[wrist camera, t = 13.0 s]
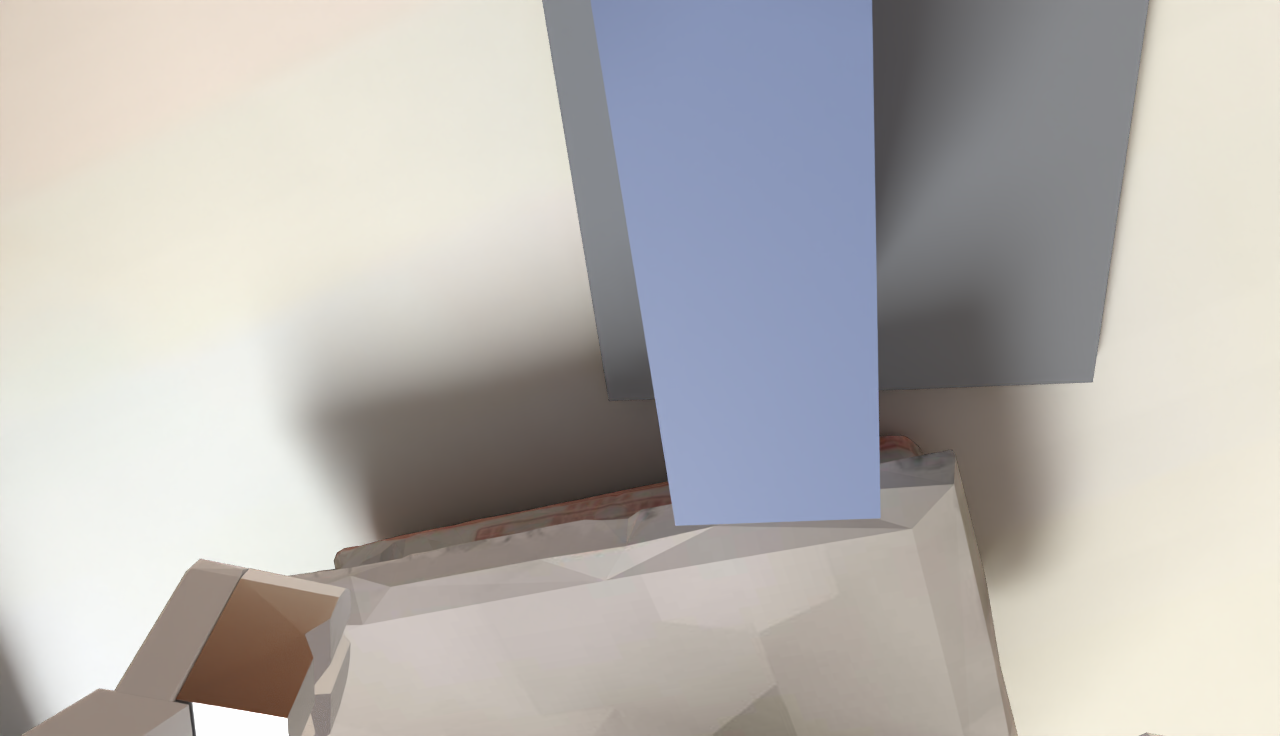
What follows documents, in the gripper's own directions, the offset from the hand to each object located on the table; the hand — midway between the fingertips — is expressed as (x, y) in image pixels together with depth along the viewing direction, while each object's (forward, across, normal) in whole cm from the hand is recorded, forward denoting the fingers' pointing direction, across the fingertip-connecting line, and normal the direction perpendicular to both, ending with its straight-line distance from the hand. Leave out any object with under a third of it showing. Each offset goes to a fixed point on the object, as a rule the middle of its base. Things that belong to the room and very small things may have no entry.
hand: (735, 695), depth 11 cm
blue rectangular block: (+13, 0, -1) cm, 13 cm away
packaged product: (+11, -2, +17) cm, 21 cm away
